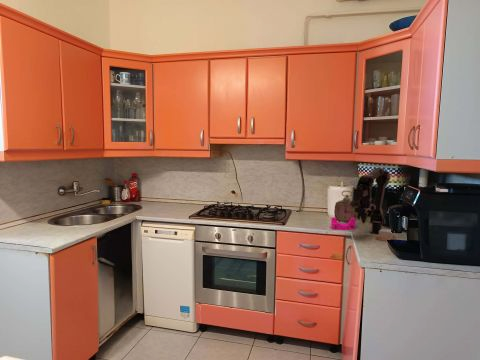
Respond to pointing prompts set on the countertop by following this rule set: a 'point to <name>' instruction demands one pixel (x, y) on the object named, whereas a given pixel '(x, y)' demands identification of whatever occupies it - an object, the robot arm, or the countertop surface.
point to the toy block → (338, 226)
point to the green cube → (365, 221)
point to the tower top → (386, 233)
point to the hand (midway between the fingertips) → (364, 222)
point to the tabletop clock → (345, 210)
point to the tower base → (384, 238)
